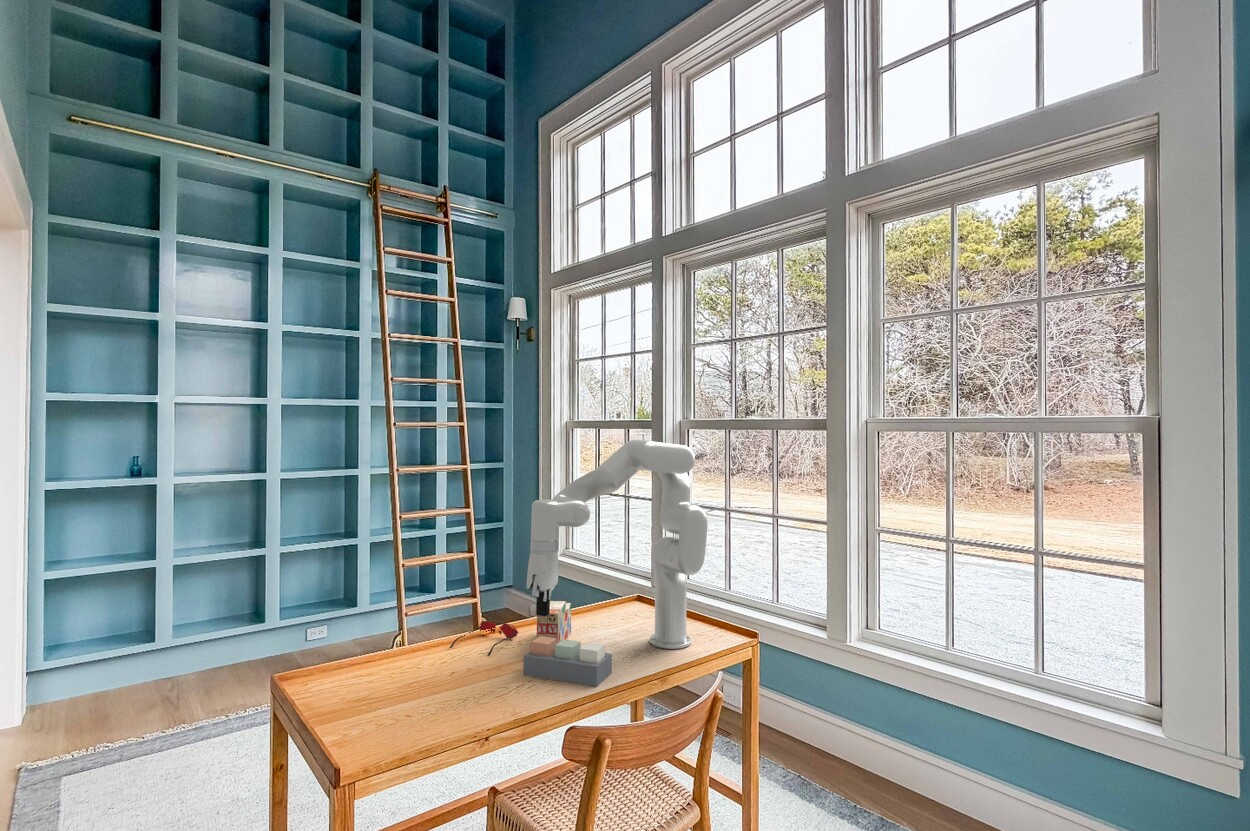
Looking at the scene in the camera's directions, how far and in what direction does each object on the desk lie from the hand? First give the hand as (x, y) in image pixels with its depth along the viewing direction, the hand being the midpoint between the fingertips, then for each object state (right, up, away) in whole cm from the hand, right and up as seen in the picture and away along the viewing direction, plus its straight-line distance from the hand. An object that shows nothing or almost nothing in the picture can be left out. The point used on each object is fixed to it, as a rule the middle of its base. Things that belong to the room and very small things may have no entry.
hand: (542, 614), depth 177 cm
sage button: (+7, -12, -2) cm, 14 cm away
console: (+7, -15, -2) cm, 17 cm away
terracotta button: (0, -12, 0) cm, 12 cm away
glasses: (-20, -16, +20) cm, 32 cm away
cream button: (+14, -12, -5) cm, 19 cm away
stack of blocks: (+1, -15, +22) cm, 27 cm away
